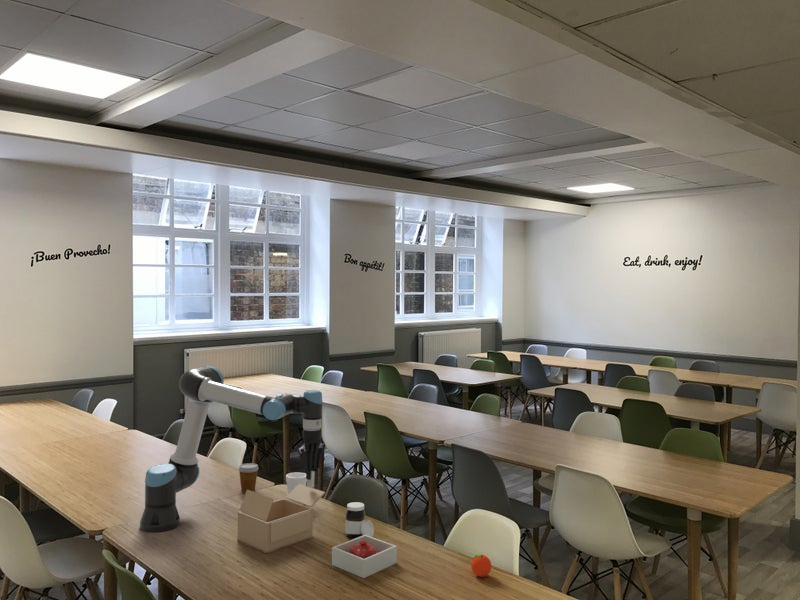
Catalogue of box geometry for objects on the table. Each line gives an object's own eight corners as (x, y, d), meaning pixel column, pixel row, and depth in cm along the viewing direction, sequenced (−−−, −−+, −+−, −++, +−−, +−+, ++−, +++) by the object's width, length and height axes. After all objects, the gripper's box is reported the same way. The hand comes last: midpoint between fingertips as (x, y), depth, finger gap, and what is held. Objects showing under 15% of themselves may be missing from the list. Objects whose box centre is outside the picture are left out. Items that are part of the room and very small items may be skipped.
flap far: (324, 492, 250) (325, 492, 250) (298, 483, 260) (299, 484, 260) (311, 506, 244) (311, 507, 245) (285, 497, 255) (285, 498, 255)
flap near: (266, 520, 228) (265, 520, 228) (240, 510, 238) (239, 510, 238) (274, 498, 231) (273, 498, 230) (248, 489, 241) (247, 489, 241)
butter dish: (354, 574, 212) (354, 549, 212) (341, 561, 222) (342, 537, 222) (384, 568, 217) (385, 544, 217) (371, 556, 227) (371, 532, 227)
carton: (267, 554, 227) (268, 523, 227) (236, 540, 239) (237, 511, 239) (313, 537, 243) (313, 509, 243) (282, 525, 256) (282, 498, 256)
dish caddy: (363, 578, 208) (364, 560, 208) (331, 564, 219) (332, 547, 219) (396, 562, 221) (396, 546, 221) (364, 550, 231) (365, 534, 231)
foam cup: (302, 508, 277) (302, 479, 277) (282, 506, 279) (282, 477, 279) (309, 501, 286) (309, 473, 286) (290, 499, 288) (290, 471, 288)
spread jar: (347, 529, 253) (347, 500, 253) (374, 530, 252) (375, 501, 252) (343, 540, 241) (343, 510, 241) (372, 541, 240) (373, 511, 240)
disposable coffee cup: (238, 494, 295) (238, 468, 295) (237, 488, 304) (238, 463, 304) (258, 492, 298) (259, 467, 298) (257, 487, 307) (258, 462, 307)
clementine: (465, 577, 210) (465, 556, 210) (470, 569, 217) (470, 549, 217) (488, 581, 207) (489, 560, 207) (493, 573, 214) (493, 552, 214)
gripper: (305, 432, 246) (304, 492, 246) (330, 428, 256) (328, 485, 256) (293, 429, 251) (292, 488, 251) (318, 425, 261) (316, 481, 261)
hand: (310, 486), depth 253 cm, fingers closed
